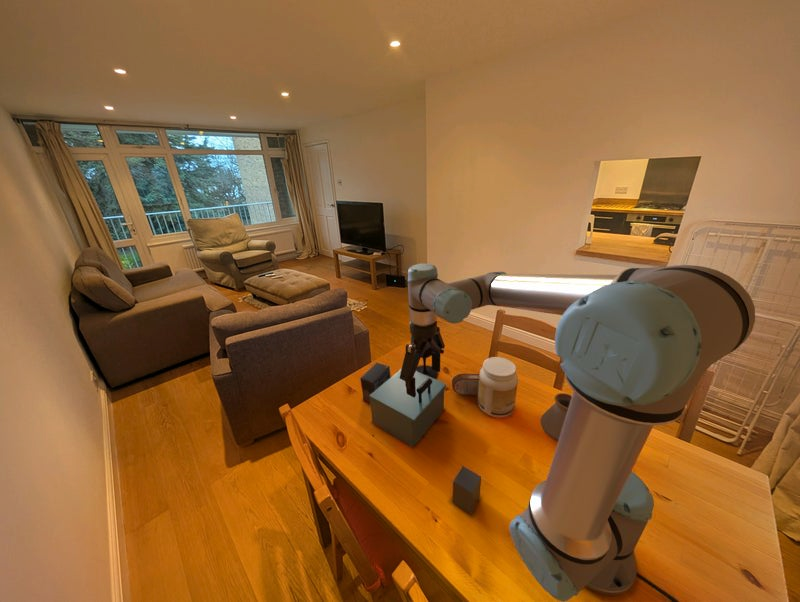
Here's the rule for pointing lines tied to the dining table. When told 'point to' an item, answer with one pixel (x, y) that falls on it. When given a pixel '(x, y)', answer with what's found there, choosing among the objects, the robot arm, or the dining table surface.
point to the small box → (374, 379)
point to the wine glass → (425, 369)
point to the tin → (466, 384)
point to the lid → (404, 404)
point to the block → (466, 489)
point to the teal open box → (406, 420)
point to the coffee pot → (556, 416)
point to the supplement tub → (497, 387)
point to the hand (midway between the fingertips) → (424, 382)
